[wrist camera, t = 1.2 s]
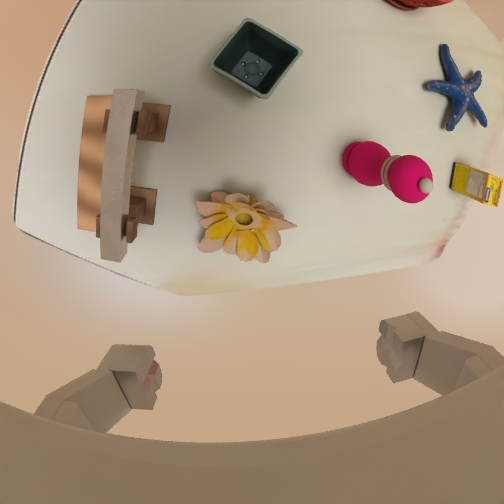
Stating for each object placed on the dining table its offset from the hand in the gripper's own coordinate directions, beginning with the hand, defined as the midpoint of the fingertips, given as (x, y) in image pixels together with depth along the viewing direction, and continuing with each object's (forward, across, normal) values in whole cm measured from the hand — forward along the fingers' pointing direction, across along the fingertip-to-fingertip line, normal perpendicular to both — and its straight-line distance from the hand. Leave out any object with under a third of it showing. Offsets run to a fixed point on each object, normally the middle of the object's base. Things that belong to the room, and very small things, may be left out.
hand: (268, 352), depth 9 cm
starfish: (+37, -43, -23) cm, 61 cm away
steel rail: (+26, +16, -8) cm, 32 cm away
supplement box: (+40, -46, -3) cm, 61 cm away
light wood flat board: (+36, +25, -11) cm, 45 cm away
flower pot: (+35, -2, -22) cm, 42 cm away
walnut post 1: (+35, +14, -16) cm, 41 cm away
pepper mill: (+38, -19, -6) cm, 43 cm away
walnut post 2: (+37, +19, -3) cm, 42 cm away
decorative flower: (+39, +2, +2) cm, 39 cm away
